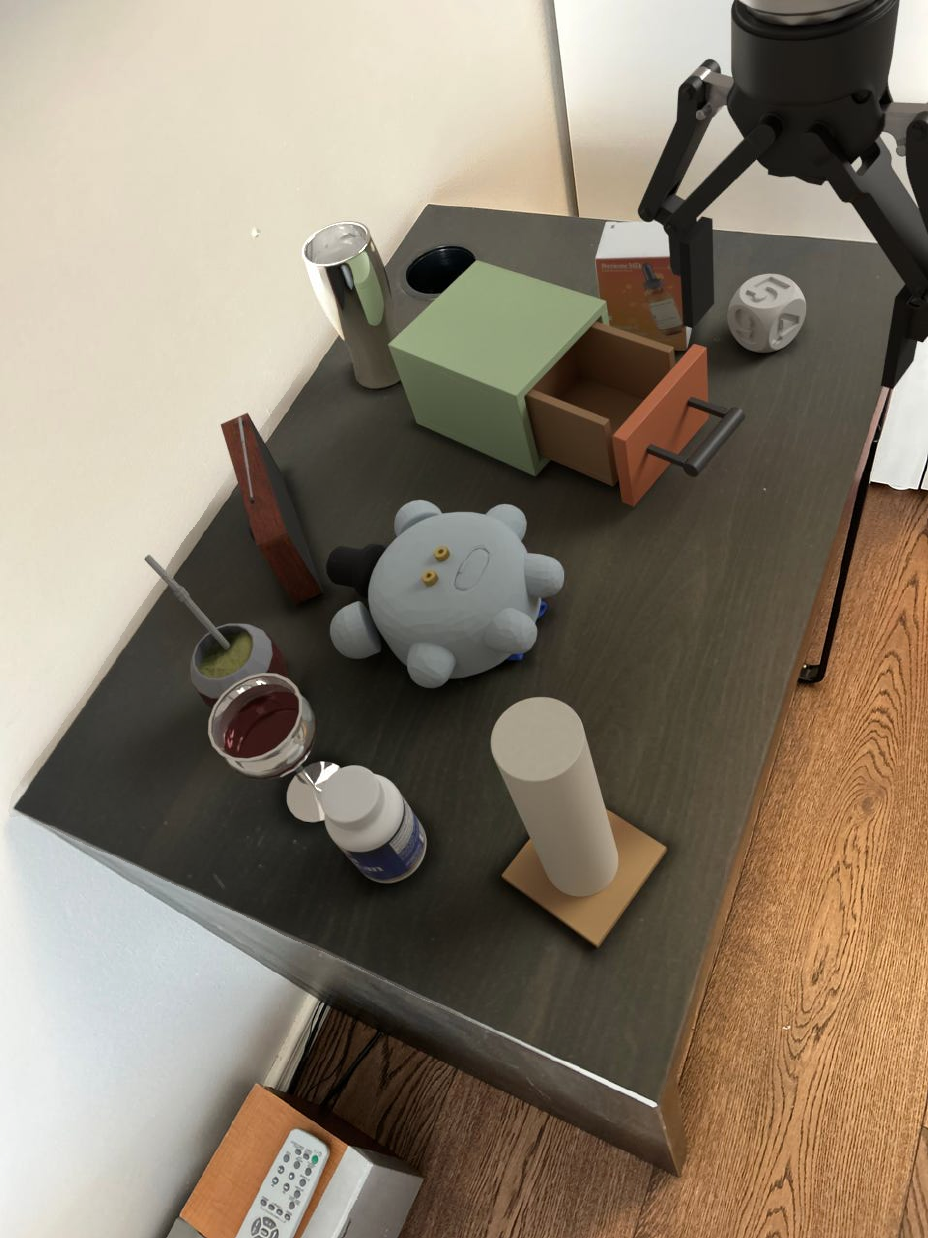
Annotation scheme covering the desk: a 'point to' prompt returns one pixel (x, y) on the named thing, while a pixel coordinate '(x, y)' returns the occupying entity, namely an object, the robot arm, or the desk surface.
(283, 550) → the radio
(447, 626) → the figurine
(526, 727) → the canister
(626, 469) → the drawer
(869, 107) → the robot arm
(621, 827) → the coaster
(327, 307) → the metal tumbler
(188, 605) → the mate gourd
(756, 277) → the die
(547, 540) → the desk surface
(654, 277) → the small box
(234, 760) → the wineglass
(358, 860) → the pill bottle
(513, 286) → the cabinet
